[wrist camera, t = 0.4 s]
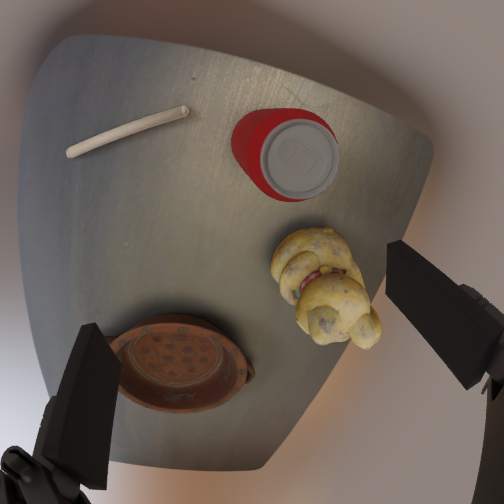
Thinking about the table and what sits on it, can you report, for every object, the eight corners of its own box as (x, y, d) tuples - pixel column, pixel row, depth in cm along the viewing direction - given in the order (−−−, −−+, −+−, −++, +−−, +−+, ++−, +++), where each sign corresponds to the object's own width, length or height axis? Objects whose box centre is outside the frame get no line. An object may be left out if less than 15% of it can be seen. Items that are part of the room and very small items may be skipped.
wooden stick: (67, 148, 26) (63, 150, 25) (187, 104, 26) (186, 103, 25) (70, 158, 26) (66, 160, 25) (190, 115, 27) (189, 115, 26)
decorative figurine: (257, 275, 36) (292, 369, 23) (276, 208, 33) (331, 280, 19) (328, 284, 38) (384, 366, 25) (351, 224, 35) (427, 291, 22)
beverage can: (271, 185, 31) (310, 227, 21) (216, 151, 29) (228, 174, 18) (308, 134, 30) (366, 150, 19) (255, 96, 27) (291, 87, 16)
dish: (98, 281, 33) (87, 306, 28) (272, 312, 39) (282, 337, 34) (99, 376, 39) (93, 401, 35) (237, 395, 45) (241, 420, 41)
